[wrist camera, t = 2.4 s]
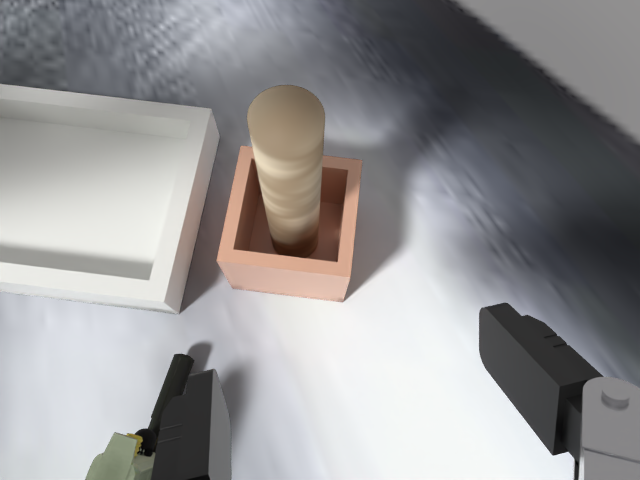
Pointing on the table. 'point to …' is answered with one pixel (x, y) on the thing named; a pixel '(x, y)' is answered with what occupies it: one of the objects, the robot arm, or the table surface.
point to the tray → (101, 196)
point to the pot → (256, 245)
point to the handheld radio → (141, 434)
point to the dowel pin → (289, 164)
